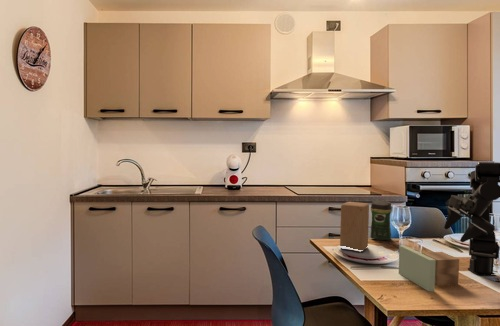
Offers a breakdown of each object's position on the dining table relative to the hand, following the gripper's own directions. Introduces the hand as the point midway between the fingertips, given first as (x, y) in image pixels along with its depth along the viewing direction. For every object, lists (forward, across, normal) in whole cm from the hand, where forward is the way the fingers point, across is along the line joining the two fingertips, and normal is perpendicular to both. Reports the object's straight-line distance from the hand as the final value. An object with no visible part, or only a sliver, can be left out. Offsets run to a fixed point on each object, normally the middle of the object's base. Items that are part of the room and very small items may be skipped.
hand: (452, 234), depth 122 cm
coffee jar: (+25, -46, +10) cm, 53 cm away
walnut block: (+15, +5, +2) cm, 16 cm away
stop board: (+19, +6, -6) cm, 21 cm away
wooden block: (+31, -30, -8) cm, 44 cm away
